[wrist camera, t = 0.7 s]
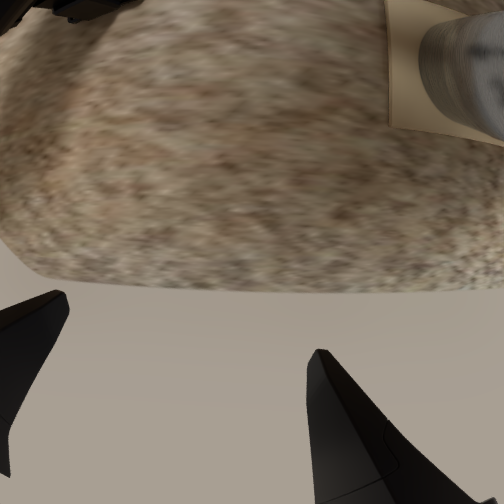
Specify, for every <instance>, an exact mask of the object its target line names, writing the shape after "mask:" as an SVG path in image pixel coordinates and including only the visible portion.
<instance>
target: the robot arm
mask: <svg viewBox="0 0 504 504" xmlns="http://www.w3.org/2000/svg"><path fill="white" fill-rule="evenodd" d="M133 1H136V0H0V36H2V35H3V34H5V33H6V32H7V31H8V30H9V29H11V28H14V27H16V26H17V25H18V24H19V23H20V22H21V21H22V17H23V16H24V15H25V14H26V13H27V12H28V10H29V9H30V8H31V7H35V8H45V9H52V14H54V15H56V16H63V17H68V22H69V23H72V24H75V23H78V22H80V21H82V20H91V19H93V18H96V17H98V16H101V15H103V14H106V13H109V12H111V11H114V10H117V9H118V8H119V7H120V6H121V5H123V4H126V3H130V2H133ZM73 18H75V19H74V20H73ZM68 315H69V304H68V301H67V297H66V294H65V293H64V292H62V291H60V290H53V291H50V292H47V293H45V294H42V295H40V296H37V297H34V298H31V299H29V300H26V301H23V302H21V303H18V304H16V305H13V306H10V307H8V308H5V309H3V310H0V473H1V474H3V475H5V476H7V477H9V478H10V475H11V473H10V462H9V445H8V435H9V431H10V428H11V425H12V424H13V421H14V419H15V417H16V414H17V413H18V411H19V409H20V407H21V405H22V402H23V401H24V399H25V397H26V395H27V393H28V391H29V389H30V387H31V385H32V383H33V381H34V380H35V378H36V376H37V374H38V372H39V371H40V369H41V367H42V365H43V363H44V362H45V360H46V358H47V356H48V355H49V353H50V351H51V350H52V348H53V346H54V344H55V342H56V340H57V338H58V336H59V334H60V332H61V330H62V328H63V326H64V323H65V321H66V319H67V317H68ZM306 394H307V395H306V396H307V397H306V406H307V415H308V425H309V436H310V447H311V458H312V469H313V482H314V495H315V504H498V503H497V501H496V499H495V498H494V497H492V498H490V499H487V500H485V501H483V502H481V503H478V502H476V501H474V500H473V499H472V498H470V497H469V496H468V495H467V494H466V493H465V492H464V491H463V490H461V489H460V488H459V487H458V486H457V485H456V484H455V483H454V482H452V481H451V480H450V479H449V478H448V477H447V476H446V475H445V474H444V473H443V472H441V471H440V470H439V469H438V468H437V467H436V466H435V465H434V464H433V463H432V462H430V461H429V460H428V459H427V458H426V457H425V456H424V455H423V454H422V453H421V452H420V451H418V450H417V449H416V448H415V447H414V446H413V445H412V444H411V443H410V442H409V441H408V440H407V439H406V438H405V437H404V436H403V435H402V434H401V433H400V432H399V430H398V429H397V428H396V427H395V426H394V425H393V424H392V423H391V422H390V420H387V417H386V416H385V415H384V414H383V413H382V412H381V411H380V409H379V408H378V407H377V406H376V405H375V404H374V403H373V401H372V400H371V399H370V398H369V397H368V396H367V395H366V393H365V392H364V391H363V390H362V389H361V388H360V386H359V385H358V384H357V383H356V382H355V381H354V380H353V378H352V377H351V376H350V375H349V374H348V373H347V371H346V370H345V369H344V368H343V367H342V366H341V365H340V363H339V362H338V361H337V360H336V359H335V358H334V357H333V355H332V354H331V353H330V352H329V351H328V350H324V349H316V350H315V352H314V354H313V355H312V357H311V359H310V361H309V362H308V366H307V393H306Z"/></svg>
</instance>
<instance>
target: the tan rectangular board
mask: <svg viewBox="0 0 504 504" xmlns="http://www.w3.org/2000/svg"><path fill="white" fill-rule="evenodd" d="M384 5H385V14H386V25H387V39H388V58H389V124H388V126H389V127H391V128H399V129H408V130H416V131H424V132H431V133H437V134H444V135H450V136H455V137H461V138H466V139H471V140H476V141H481V142H485V143H490V144H494V145H498V146H502V147H504V142H503V141H501V140H499V139H496V138H494V137H492V136H489V135H487V134H484V133H482V132H480V131H477V130H474V129H472V128H469V127H467V126H464V125H461V124H458V123H456V122H454V121H452V120H450V119H449V118H447V117H446V116H445V115H443V114H442V113H441V112H440V111H439V110H438V109H437V108H436V106H435V105H434V104H433V103H432V101H431V99H430V98H429V96H428V94H427V92H426V90H425V88H424V86H423V83H422V80H421V76H420V71H419V64H418V54H419V48H420V44H421V41H422V39H423V37H424V35H425V34H426V32H427V31H428V30H429V29H430V28H431V27H433V26H434V25H436V24H438V23H441V22H445V21H450V20H454V19H458V18H463V17H468V15H466V14H463V13H461V12H458V11H455V10H452V9H450V8H447V7H444V6H441V5H438V4H434V3H431V2H428V1H424V0H384Z"/></svg>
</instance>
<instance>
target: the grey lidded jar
mask: <svg viewBox="0 0 504 504" xmlns="http://www.w3.org/2000/svg"><path fill="white" fill-rule="evenodd" d="M418 64H419V71H420V76H421V80H422V83H423V86H424V88H425V90H426V92H427V94H428V96H429V98H430V99H431V101H432V103H433V104H434V105H435V106H436V108H437V109H438V110H439V111H440V112H441V113H442V114H443V115H445V116H446V117H447V118H449V119H450V120H452V121H454V122H456V123H458V124H461V125H464V126H467V127H469V128H472V129H474V130H477V131H480V132H482V133H484V134H487V135H489V136H492V137H494V138H496V139H499V140H501V141H503V142H504V11H497V12H490V13H484V14H478V15H473V16H468V17H463V18H458V19H454V20H450V21H445V22H441V23H438V24H436V25H434V26H433V27H431V28H430V29H429V30H428V31H427V32H426V34H425V35H424V37H423V39H422V41H421V44H420V48H419V54H418Z"/></svg>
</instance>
